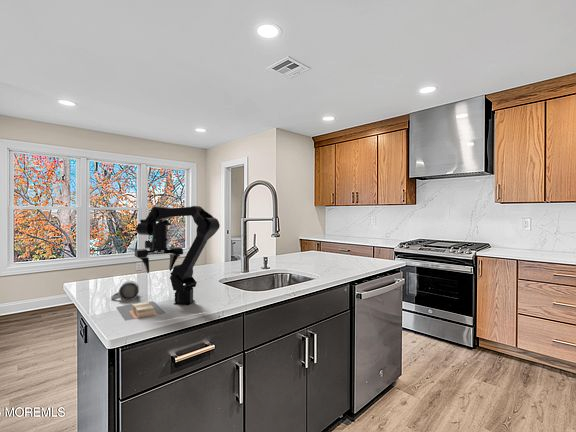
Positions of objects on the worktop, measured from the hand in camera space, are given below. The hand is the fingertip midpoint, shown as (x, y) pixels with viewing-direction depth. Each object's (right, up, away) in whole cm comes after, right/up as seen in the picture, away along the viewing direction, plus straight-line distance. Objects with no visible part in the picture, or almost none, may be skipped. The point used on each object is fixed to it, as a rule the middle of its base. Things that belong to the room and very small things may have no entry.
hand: (159, 271), depth 135 cm
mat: (-1, -12, -15) cm, 19 cm away
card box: (+1, -12, -18) cm, 21 cm away
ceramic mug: (-15, -12, +1) cm, 19 cm away
